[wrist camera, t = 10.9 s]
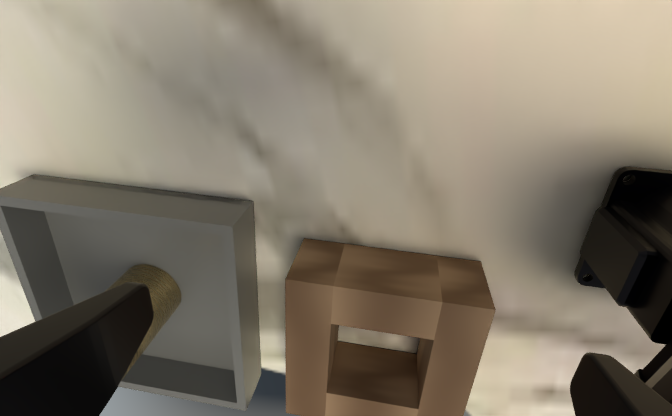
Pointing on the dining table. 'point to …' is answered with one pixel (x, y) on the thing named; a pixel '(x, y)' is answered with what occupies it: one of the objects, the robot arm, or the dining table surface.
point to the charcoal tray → (152, 249)
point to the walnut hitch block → (384, 316)
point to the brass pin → (153, 298)
